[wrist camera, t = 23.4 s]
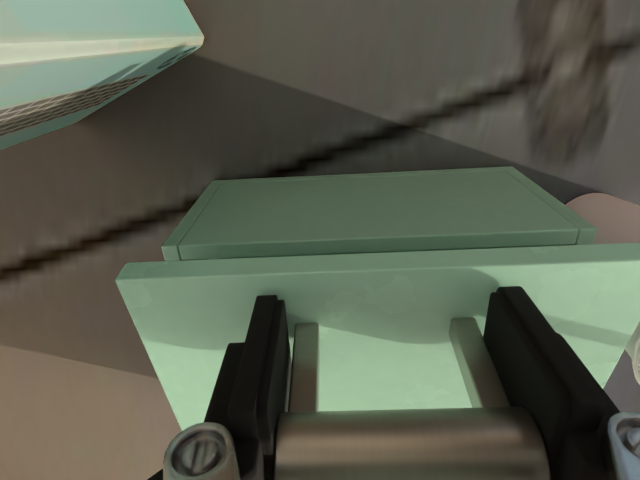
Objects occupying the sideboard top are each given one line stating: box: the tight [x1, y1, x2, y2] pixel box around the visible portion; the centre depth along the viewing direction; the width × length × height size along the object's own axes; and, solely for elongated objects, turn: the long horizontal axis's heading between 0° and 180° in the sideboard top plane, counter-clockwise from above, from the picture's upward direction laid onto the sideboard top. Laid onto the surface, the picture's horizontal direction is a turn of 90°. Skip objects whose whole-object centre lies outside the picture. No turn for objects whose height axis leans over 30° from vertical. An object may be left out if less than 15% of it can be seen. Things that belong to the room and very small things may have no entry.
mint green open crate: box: [161, 166, 597, 261], centre depth 20 cm, size 15×15×7 cm
